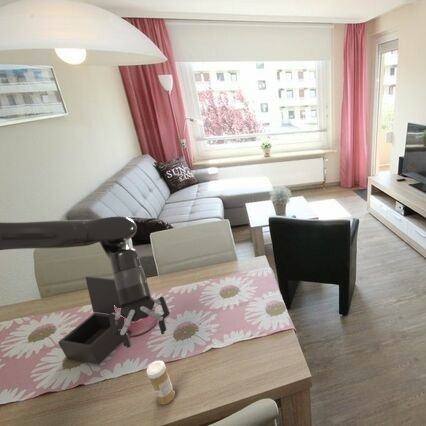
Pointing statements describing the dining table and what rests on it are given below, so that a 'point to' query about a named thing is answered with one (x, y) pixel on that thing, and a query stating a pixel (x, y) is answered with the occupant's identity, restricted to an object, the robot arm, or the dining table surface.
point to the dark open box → (91, 339)
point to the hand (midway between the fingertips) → (146, 340)
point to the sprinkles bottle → (160, 382)
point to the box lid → (103, 294)
